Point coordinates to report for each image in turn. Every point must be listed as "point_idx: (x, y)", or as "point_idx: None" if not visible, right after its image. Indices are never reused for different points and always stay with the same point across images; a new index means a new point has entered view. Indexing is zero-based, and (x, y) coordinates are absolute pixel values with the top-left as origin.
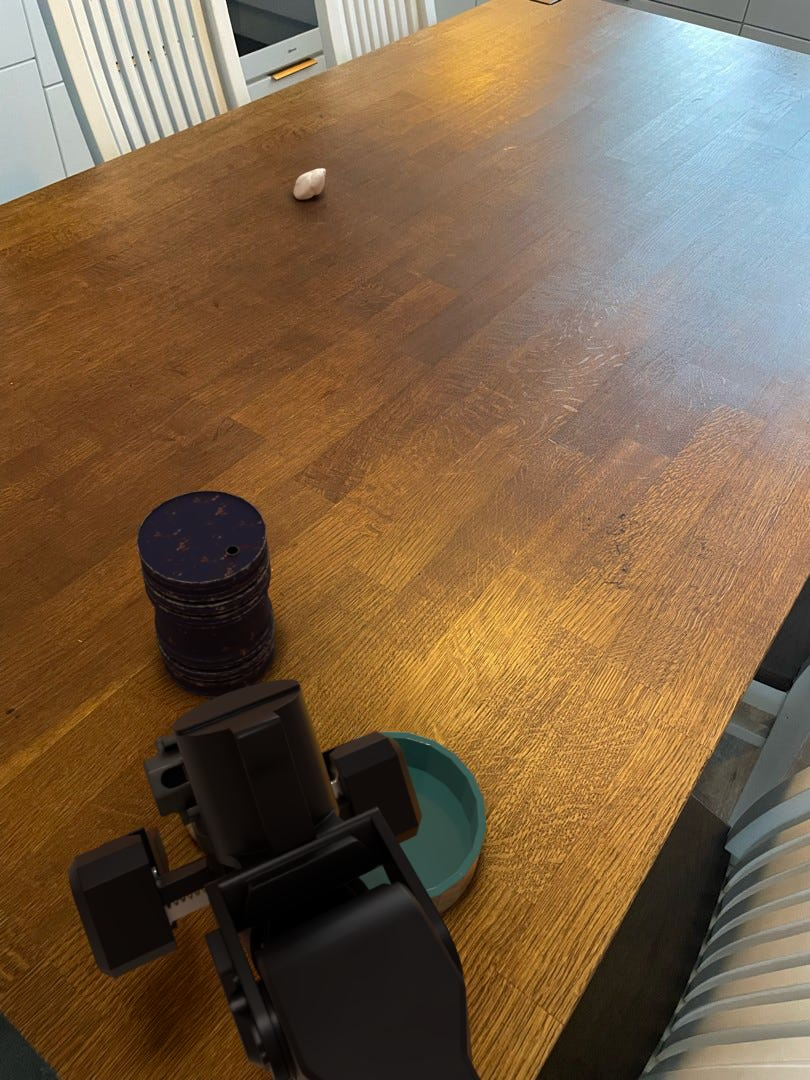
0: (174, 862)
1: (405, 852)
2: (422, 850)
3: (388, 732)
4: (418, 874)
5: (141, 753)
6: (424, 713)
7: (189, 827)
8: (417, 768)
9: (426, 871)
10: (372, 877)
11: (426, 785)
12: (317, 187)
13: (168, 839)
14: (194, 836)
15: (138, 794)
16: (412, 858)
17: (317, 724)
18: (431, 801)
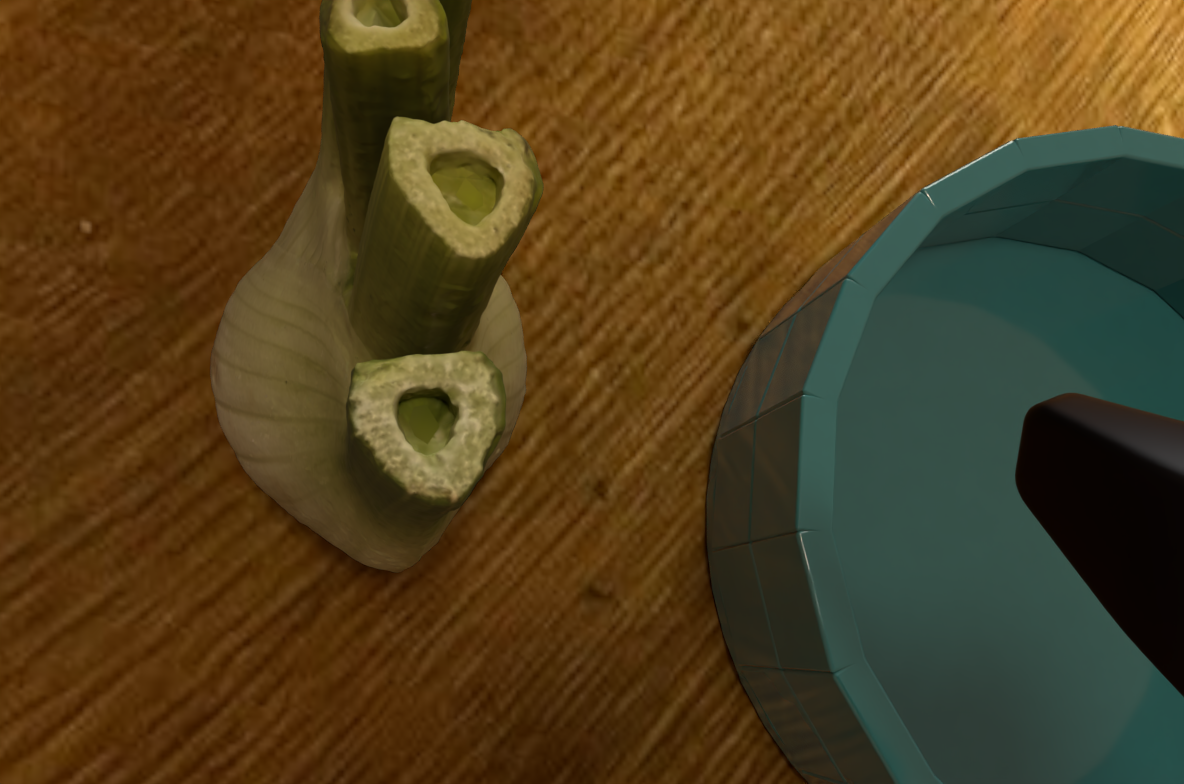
0: (168, 549)
1: (1085, 605)
2: None
3: (1152, 136)
4: (1127, 695)
5: (24, 33)
6: (1133, 62)
7: (239, 453)
8: (1126, 275)
9: (1157, 687)
10: (968, 695)
11: (1154, 346)
12: None
13: (143, 442)
14: (262, 489)
15: (7, 219)
16: (1110, 631)
17: (758, 35)
18: (1171, 411)
